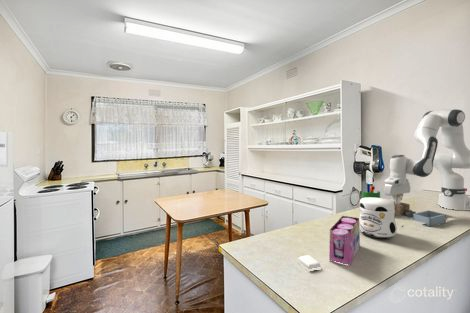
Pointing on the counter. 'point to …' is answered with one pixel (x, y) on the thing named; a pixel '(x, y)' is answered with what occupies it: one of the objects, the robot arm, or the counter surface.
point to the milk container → (377, 217)
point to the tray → (433, 221)
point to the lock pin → (398, 199)
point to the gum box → (344, 239)
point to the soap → (309, 262)
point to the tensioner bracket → (403, 210)
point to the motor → (371, 193)
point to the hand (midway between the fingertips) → (397, 200)
